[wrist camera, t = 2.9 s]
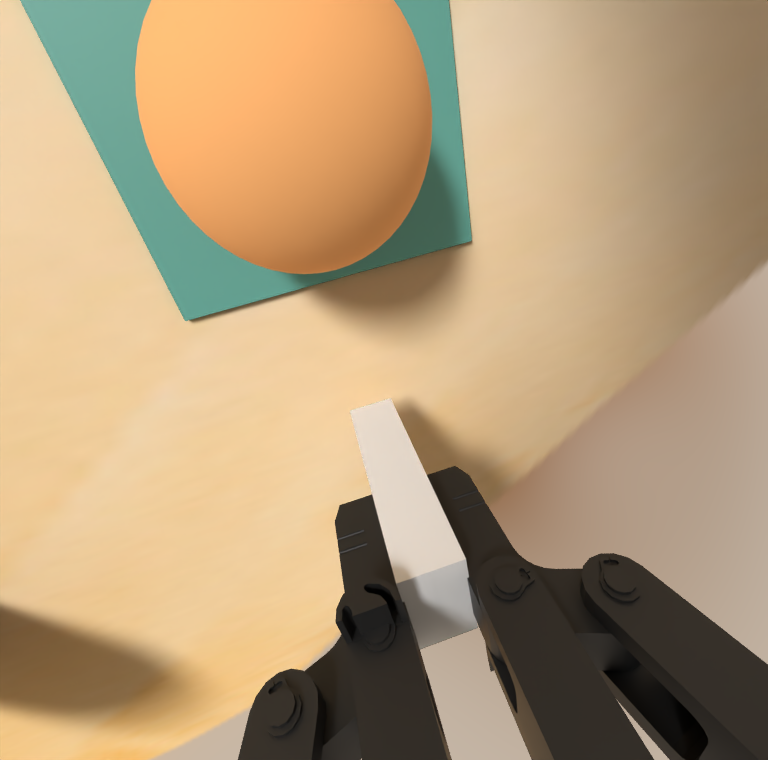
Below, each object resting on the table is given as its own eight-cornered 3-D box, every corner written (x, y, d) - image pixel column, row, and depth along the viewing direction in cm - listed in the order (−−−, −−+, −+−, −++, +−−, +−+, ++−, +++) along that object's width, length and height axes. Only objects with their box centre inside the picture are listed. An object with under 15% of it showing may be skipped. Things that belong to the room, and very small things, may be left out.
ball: (133, 31, 9) (-56, -148, 4) (369, -19, 10) (460, -233, 5) (234, 273, 12) (196, 343, 7) (410, 225, 13) (494, 258, 8)
